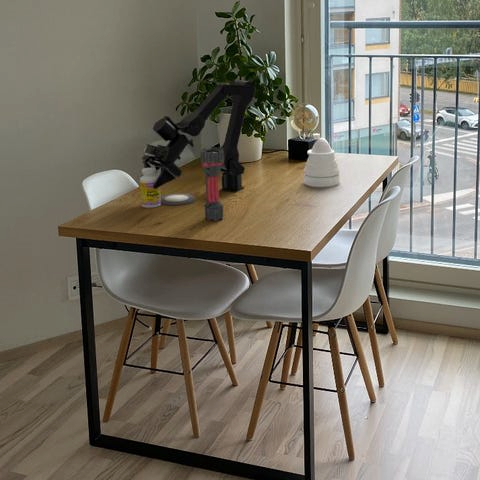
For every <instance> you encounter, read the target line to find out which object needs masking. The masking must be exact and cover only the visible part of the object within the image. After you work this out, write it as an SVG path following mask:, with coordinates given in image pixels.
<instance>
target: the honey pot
mask: <svg viewBox="0 0 480 480" xmlns="http://www.w3.org/2000/svg"><path fill="white" fill-rule="evenodd" d="M320 135H321V134H320V133H313V134H312V137H313V139H314V140H315V142H314V144H313V146H312V148H311V149H309V150H307V153H306V154H307V155H309V156H308V158H307V159H306V163H305V167H304V169H303V170H304V174H303V179H304V180H303V181H304V184H305V185H306V186H309V187H312V188H313V187H315V188H328V187H334V186H337V185H339V184H340V167H339V166H338V162H337V159H336V156H335V153H336V151H335V150H333V149H332V147H331V145H330V143H329V142H328V141H327V140H326V138H324V137H321V136H320Z"/></svg>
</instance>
